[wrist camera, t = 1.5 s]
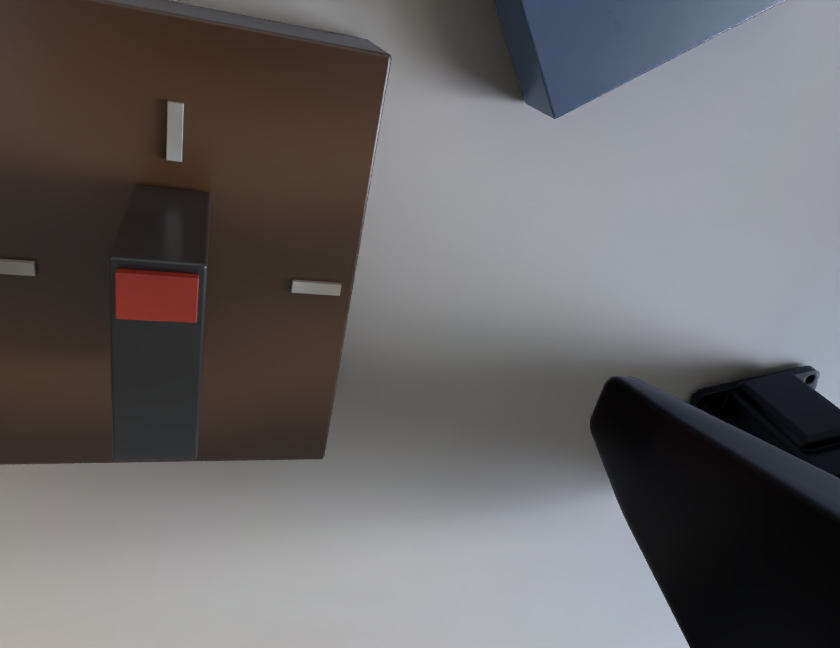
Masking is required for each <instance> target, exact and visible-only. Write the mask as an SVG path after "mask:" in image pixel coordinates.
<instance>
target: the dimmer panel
mask: <svg viewBox="0 0 840 648" xmlns="http://www.w3.org/2000/svg"><path fill="white" fill-rule="evenodd" d="M390 64H391V55H389V54H388V53H386V52H385V51H384V50H382V49H381V48H379V47H378V46H376V45H375V44H373V43H372V42H370V41H369V40H367V39H362V38H357V37H352V36H347V35H342V34H336V33H331V32H326V31H321V30H316V29H311V28H306V27H300V26H295V25H290V24H285V23H280V22H275V21H270V20H265V19H259V18H254V17H249V16H244V15H239V14H234V13H229V12H224V11H218V10H213V9H208V8H203V7H198V6H193V5H188V4H183V3H177V2H172V1H167V0H0V464H58V463H118V462H178V461H238V460H298V459H323V458H324V455H325V449H326V443H327V437H328V431H329V425H330V419H331V414H332V408H333V402H334V396H335V390H336V384H337V378H338V372H339V366H340V360H341V354H342V348H343V342H344V336H345V331H346V325H347V319H348V313H349V307H350V301H351V295H352V289H353V283H354V277H355V271H356V265H357V259H358V253H359V247H360V242H361V236H362V230H363V224H364V218H365V212H366V206H367V200H368V194H369V188H370V182H371V176H372V170H373V164H374V159H375V153H376V147H377V141H378V135H379V129H380V123H381V117H382V111H383V105H384V99H385V93H386V87H387V81H388V75H389V70H390ZM135 185H145V186H154V187H163V188H172V189H182V190H191V191H200V192H208V193H210V194H211V206H210V227H209V249H208V270H207V288H206V307H205V325H204V344H203V362H202V381H201V399H200V417H199V436H198V454H197V457H196V459H190V460H126V461H116V460H114V459H113V453H112V408H111V364H110V319H109V274H108V259H109V256H110V253H111V250H112V248H113V245H114V242H115V239H116V237H117V234H118V231H119V228H120V225H121V223H122V220H123V217H124V214H125V212H126V209H127V206H128V203H129V200H130V198H131V195H132V192H133V189H134V187H135Z"/></svg>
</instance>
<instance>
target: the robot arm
mask: <svg viewBox="0 0 840 648" xmlns="http://www.w3.org/2000/svg"><path fill="white" fill-rule="evenodd" d="M818 379H819V372H818V371H817V370H815V369H814V368H813V367H811V366H803V367H799V368H794V369H790V370H785V371H781V372H776V373H772V374H767V375H763V376H758V377H754V378H749V379H745V380H740V381H736V382H731V383H727V384H722V385H718V386H713V387H709V388H704V389H701V390H698V391H697V392H696V393H694V395H693V396H692V398H691V401H690V404H688V403H686V402H684V401H682V400H680V399H678V398H676V397H674V396H672V395H670V394H668V393H665V392H663V391H661V390H659V389H657V388H655V387H653V386H651V385H649V384H647V383H645V382H643V381H641V380H639V379H637V378H634V377H622V376H613V377H611V378H609V379H608V380H607V381H606V382H605V384H604V386H603V389H602V391H601V394H600V396H599V398H598V401H597V403H596V406H595V408H594V411H593V413H592V416H591V420H590V429H591V434H592V436H593V439H594V441H595V444H596V447H597V449H598V452H599V454H600V457H601V460H602V462H603V465H604V467H605V470H606V472H607V475H608V478H609V480H610V483H611V485H612V488H613V491H614V493H615V496H616V498H617V501H618V503H619V506H620V508H621V510H622V513H623V515H624V517H625V519H626V521H627V523H628V525H629V527H630V529H631V531H632V533H633V535H634V537H635V539H636V541H637V543H638V545H639V547H640V549H641V551H642V553H643V555H644V557H645V559H646V561H647V563H648V565H649V567H650V569H651V571H652V573H653V575H654V577H655V579H656V581H657V583H658V585H659V587H660V589H661V591H662V593H663V595H664V597H665V599H666V601H667V603H668V605H669V607H670V609H671V611H672V613H673V615H674V617H675V619H676V621H677V623H678V625H679V627H680V629H681V631H682V633H683V635H684V637H685V639H686V641H687V643H688V645H689V647H690V648H840V409H839V408H838V407H836V406H835V405H834V404H832V403H831V402H830V401H828V400H827V399H826V398H824V397H823V396H822V395H821V394H819V393H818V392H817V391H815V388H816V385H817V382H818Z"/></svg>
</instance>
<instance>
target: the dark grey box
mask: <svg viewBox="0 0 840 648" xmlns="http://www.w3.org/2000/svg"><path fill="white" fill-rule="evenodd" d="M210 206H211V194H210V193H208V192H200V191H191V190H182V189H172V188H163V187H154V186H145V185H135V187H134V189H133V192H132V195H131V198H130V200H129V203H128V206H127V209H126V212H125V214H124V217H123V220H122V223H121V225H120V228H119V231H118V234H117V237H116V239H115V242H114V245H113V248H112V250H111V253H110V256H109V259H108V274H109V319H110V364H111V408H112V453H113V459H114V460H116V461H126V460H190V459H196V457H197V454H198V436H199V417H200V399H201V381H202V362H203V344H204V325H205V307H206V288H207V270H208V249H209V227H210Z"/></svg>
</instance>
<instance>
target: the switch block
mask: <svg viewBox="0 0 840 648" xmlns="http://www.w3.org/2000/svg"><path fill="white" fill-rule="evenodd" d="M783 1H785V0H494V3H495V7H496V10H497V13H498V16H499V19H500V23H501V26H502V29H503V32H504V35H505V39H506V42H507V45H508V48H509V51H510V55H511V58H512V61H513V64H514V67H515V71H516V74H517V77H518V80H519V83H520V87H521V90H522V93H523V96H524V99H525V103H526V104H528V105H529V106H531V107H533V108H535V109H537V110H539V111H541V112H542V113H544V114H546V115H548V116H550V117H552V118H554V119H556V118H558V117H560V116H562V115H564V114H566V113H568V112H570V111H572V110H574V109H575V108H577V107H579V106H581V105H583V104H585V103H587V102H589V101H591V100H593V99H595V98H597V97H599V96H601V95H603V94H605V93H607V92H609V91H610V90H612V89H614V88H616V87H618V86H620V85H622V84H624V83H626V82H628V81H630V80H632V79H634V78H636V77H638V76H640V75H642V74H644V73H645V72H647V71H649V70H651V69H653V68H655V67H657V66H659V65H661V64H663V63H665V62H667V61H669V60H671V59H673V58H675V57H677V56H678V55H680V54H682V53H684V52H686V51H688V50H690V49H692V48H694V47H696V46H698V45H700V44H702V43H704V42H706V41H708V40H710V39H712V38H713V37H715V36H717V35H719V34H721V33H723V32H725V31H727V30H729V29H731V28H733V27H735V26H737V25H739V24H741V23H743V22H745V21H746V20H748V19H750V18H752V17H754V16H756V15H758V14H760V13H762V12H764V11H766V10H768V9H770V8H772V7H774V6H776V5H778V4H780V3H781V2H783Z"/></svg>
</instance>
